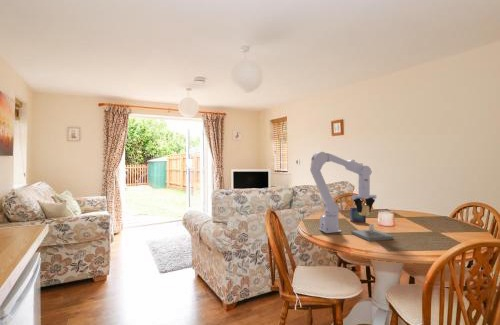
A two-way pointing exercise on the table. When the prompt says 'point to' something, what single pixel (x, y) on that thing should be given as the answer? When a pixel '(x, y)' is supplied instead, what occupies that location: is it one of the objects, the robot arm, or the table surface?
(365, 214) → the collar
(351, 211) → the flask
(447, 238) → the table surface
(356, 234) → the post block
